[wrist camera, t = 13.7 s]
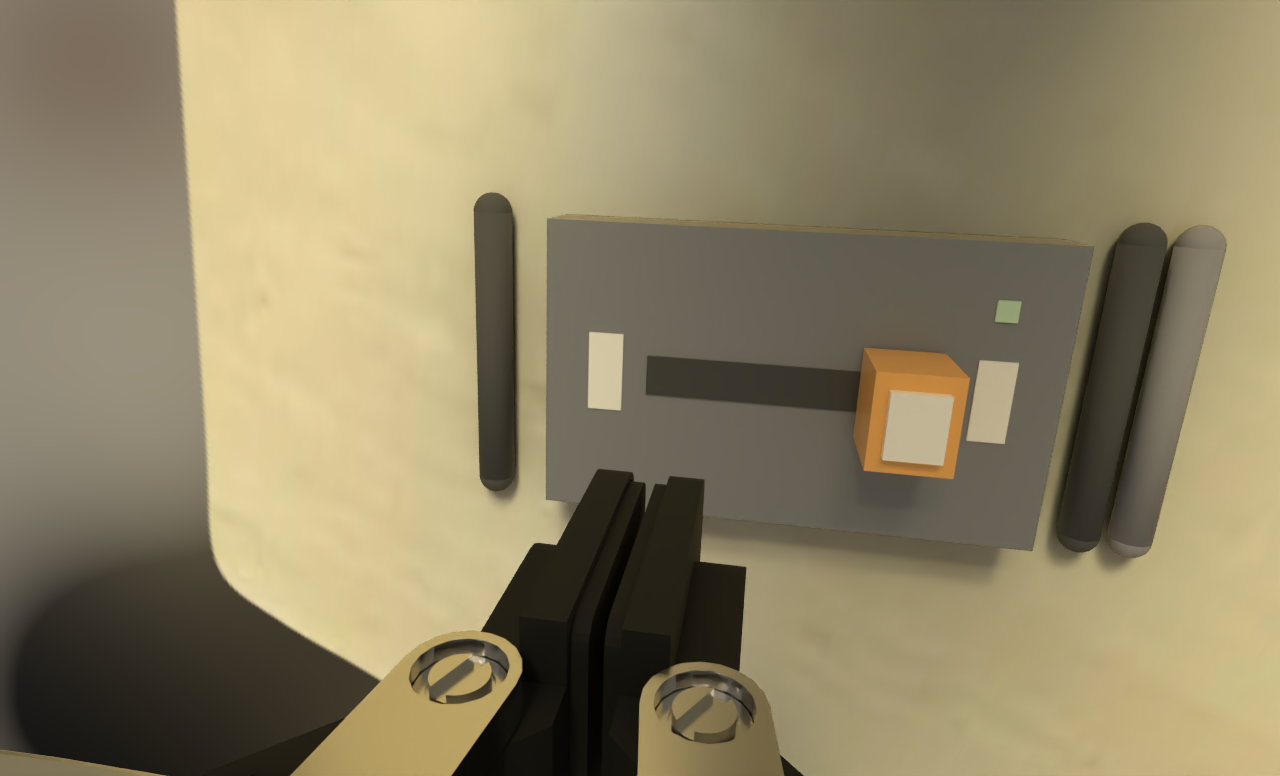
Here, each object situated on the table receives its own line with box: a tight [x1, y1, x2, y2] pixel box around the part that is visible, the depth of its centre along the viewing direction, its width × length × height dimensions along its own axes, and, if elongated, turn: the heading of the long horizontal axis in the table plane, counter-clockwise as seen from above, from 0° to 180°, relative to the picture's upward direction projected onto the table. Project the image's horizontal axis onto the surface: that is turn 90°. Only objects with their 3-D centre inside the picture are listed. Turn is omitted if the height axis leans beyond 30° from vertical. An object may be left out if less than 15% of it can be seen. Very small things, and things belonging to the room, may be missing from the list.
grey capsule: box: [1057, 223, 1167, 552], centre depth 30 cm, size 14×2×2 cm, turn 177°
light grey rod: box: [1107, 226, 1227, 558], centre depth 30 cm, size 14×2×2 cm, turn 177°
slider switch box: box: [546, 214, 1094, 551], centre depth 32 cm, size 12×20×3 cm, turn 87°
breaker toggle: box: [853, 348, 970, 479], centre depth 27 cm, size 4×3×4 cm
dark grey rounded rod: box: [474, 193, 514, 491], centre depth 34 cm, size 14×2×2 cm, turn 177°
